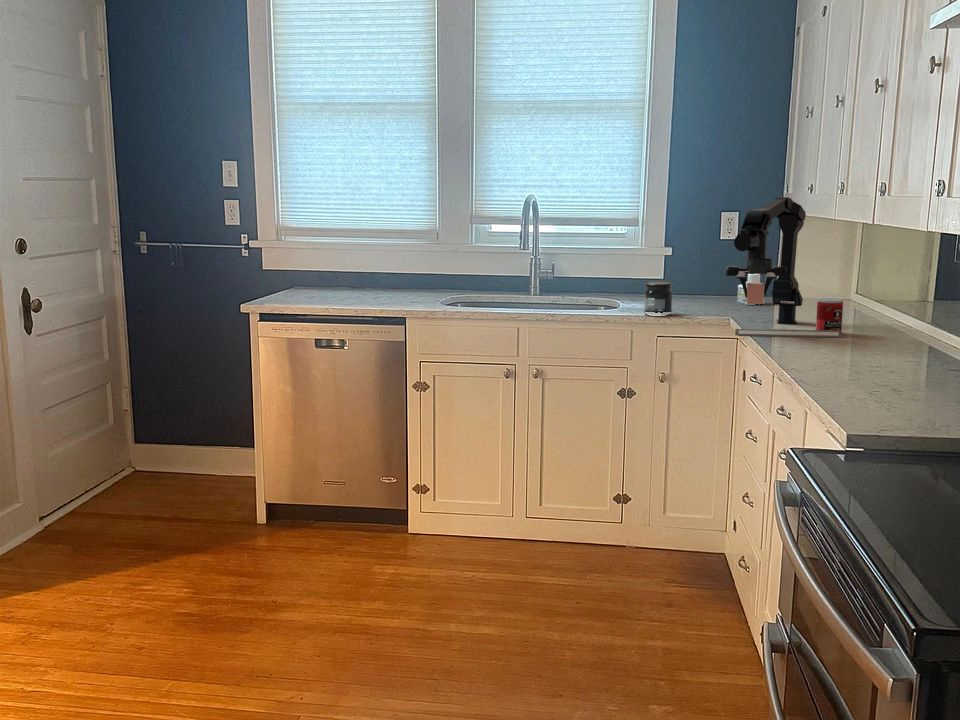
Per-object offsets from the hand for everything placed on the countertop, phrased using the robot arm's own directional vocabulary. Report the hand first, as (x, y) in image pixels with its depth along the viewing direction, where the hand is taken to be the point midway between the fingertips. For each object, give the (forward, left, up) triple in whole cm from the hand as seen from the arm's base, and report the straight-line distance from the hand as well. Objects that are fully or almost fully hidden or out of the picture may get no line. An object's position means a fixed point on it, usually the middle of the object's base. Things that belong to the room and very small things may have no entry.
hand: (754, 297), depth 290 cm
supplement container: (-37, -33, -12) cm, 51 cm away
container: (-72, +2, -12) cm, 73 cm away
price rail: (+8, +10, -11) cm, 17 cm away
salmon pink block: (0, 0, -2) cm, 2 cm away
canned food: (+1, +23, -12) cm, 26 cm away
